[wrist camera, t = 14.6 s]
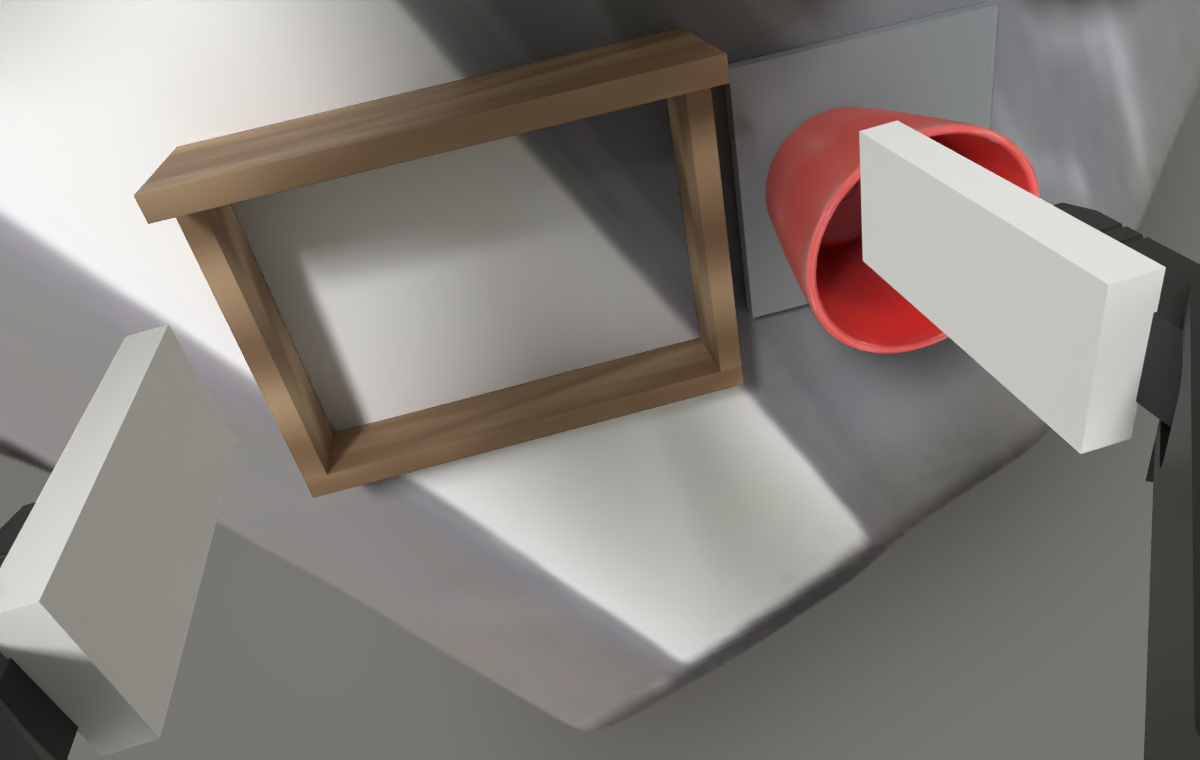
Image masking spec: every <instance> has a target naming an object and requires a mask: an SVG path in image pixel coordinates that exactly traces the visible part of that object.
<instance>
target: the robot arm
mask: <svg viewBox="0 0 1200 760" xmlns="http://www.w3.org/2000/svg"><path fill="white" fill-rule="evenodd" d="M859 142H860V179H861V215H862V252H863V261H864V262H865V263H866V264H867V265H868V266H869V267H870V268H872V269H873V270H874V271H875V272H876V273H877V274H878V275H879V276H881V277H882V278H883V279H884V280H885V281H886V282H887V283H888V284H890V285H891V286H892V287H893V288H894V289H895V290H896V291H897V292H899V293H900V294H901V295H902V296H903V297H904V298H905V299H906V300H908V301H909V302H910V303H911V304H912V305H913V306H914V307H916V308H917V309H918V310H919V311H920V312H921V313H922V314H923V315H925V316H926V317H927V318H928V319H929V320H930V321H931V322H932V323H934V324H935V325H936V326H937V327H938V328H939V329H940V330H941V331H943V332H944V333H945V334H946V335H947V336H948V337H949V338H951V339H952V340H953V341H954V342H955V343H956V344H957V345H958V346H960V347H961V348H962V349H963V350H964V351H965V352H966V353H967V354H969V355H970V356H971V357H972V358H973V359H974V360H975V361H976V362H978V363H979V364H980V365H981V366H982V367H983V368H984V369H985V370H987V371H988V372H989V373H990V374H991V375H992V376H993V377H995V378H996V379H997V380H998V381H999V382H1000V383H1001V384H1002V385H1004V386H1005V387H1006V388H1007V389H1008V390H1009V391H1010V392H1011V393H1013V394H1014V395H1015V396H1016V397H1017V398H1018V399H1019V400H1020V401H1022V402H1023V403H1024V404H1025V405H1026V406H1027V407H1028V408H1030V409H1031V410H1032V411H1033V412H1034V413H1035V414H1036V415H1037V416H1039V417H1040V418H1041V419H1042V420H1043V421H1044V422H1045V423H1046V424H1048V425H1049V426H1050V427H1051V428H1052V429H1053V430H1054V431H1055V432H1057V433H1058V434H1059V435H1060V436H1061V437H1062V438H1064V440H1066V441H1067V442H1068V443H1069V444H1070V445H1071V446H1073V447H1074V448H1075V449H1076V450H1077V451H1078V452H1079V453H1080V454H1082V453H1086V452H1089V451H1092V450H1095V449H1099V448H1102V447H1105V446H1108V445H1112V444H1114V443H1118V442H1121V441H1125V440H1128V439H1131V436H1132V431H1133V426H1134V421H1135V416H1136V411H1137V406H1138V403H1139V404H1140V405H1141V406H1143V407H1144V408H1145V409H1147V410H1148V411H1149V412H1151V413H1152V414H1154V415H1155V416H1156V417H1157V418H1159V419H1160V420H1159V424H1158V429H1157V433H1156V438H1155V443H1154V447H1153V451H1152V456H1151V460H1150V464H1149V469H1148V473H1147V478H1146V481H1149V482H1153V483H1154V484H1153V511H1152V540H1151V570H1150V597H1149V599H1150V600H1149V627H1148V657H1147V684H1146V713H1145V714H1146V715H1145V741H1144V742H1145V743H1144V760H1200V264H1198V263H1196V262H1194V261H1192V260H1190V259H1188V258H1186V257H1184V256H1183V255H1181V254H1179V253H1177V252H1175V251H1173V250H1171V249H1169V248H1167V247H1165V246H1163V245H1161V244H1159V243H1158V242H1156V241H1154V240H1152V239H1150V238H1148V237H1147V238H1143V236H1142V234H1140V233H1138V232H1136V231H1135V230H1133V229H1131V228H1129V227H1122V224H1121V223H1119V222H1117V221H1115V220H1113V219H1111V218H1110V217H1108V216H1106V215H1104V214H1102V213H1100V212H1098V211H1096V210H1091V209H1087V208H1083V207H1079V206H1075V205H1070V204H1066V203H1059V204H1056V205H1051V204H1049V203H1047V202H1046V201H1044V200H1042V199H1040V198H1038V197H1036V196H1035V195H1033V194H1031V193H1029V192H1027V191H1025V190H1024V189H1022V188H1020V187H1018V186H1016V185H1014V184H1013V183H1011V182H1009V181H1007V180H1005V179H1004V178H1002V177H1000V176H998V175H996V174H994V173H993V172H991V171H989V170H987V169H985V168H983V167H982V166H980V165H978V164H976V163H974V162H972V161H971V160H969V159H967V158H965V157H963V156H961V155H960V154H958V153H956V152H954V151H952V150H951V149H949V148H947V147H945V146H943V145H941V144H940V143H938V142H936V141H934V140H932V139H930V138H929V137H927V136H925V135H923V134H921V133H919V132H918V131H916V130H914V129H912V128H910V127H909V126H907V125H905V124H903V123H901V122H899V121H898V120H897V121H894V122H890V123H887V124H883V125H879V126H876V127H872V128H869V129H865V130H862V131H859ZM236 444H237V441H236V439H235V438H234V436H233V434H232V433H231V431H230V429H229V428H228V426H227V424H226V422H225V421H224V419H223V417H222V416H221V414H220V412H219V410H218V409H217V407H216V405H215V404H214V402H213V400H212V398H211V397H210V395H209V393H208V392H207V390H206V388H205V386H204V385H203V383H202V381H201V380H200V378H199V376H198V374H197V373H196V371H195V369H194V368H193V366H192V364H191V363H190V361H189V359H188V357H187V356H186V354H185V352H184V351H183V349H182V347H181V345H180V344H179V342H178V340H177V339H176V337H175V335H174V333H173V332H172V330H171V328H170V327H169V325H165V326H161V327H158V328H154V329H151V330H147V331H143V332H140V333H136V334H133V335H129V336H126V337H125V339H124V341H123V343H122V344H121V346H120V348H119V350H118V352H117V354H116V355H115V357H114V359H113V361H112V363H111V365H110V367H109V368H108V370H107V372H106V374H105V376H104V378H103V379H102V381H101V383H100V385H99V387H98V389H97V390H96V392H95V394H94V396H93V398H92V400H91V402H90V403H89V405H88V407H87V409H86V411H85V413H84V414H83V416H82V418H81V420H80V422H79V424H78V426H77V427H76V429H75V431H74V433H73V435H72V437H71V438H70V440H69V442H68V444H67V446H66V448H65V449H64V451H63V453H62V455H61V457H60V459H59V461H58V462H57V464H56V466H55V468H54V470H53V472H52V473H51V475H50V477H49V479H48V481H47V483H46V485H45V486H44V488H43V490H42V492H41V494H40V496H39V498H38V499H37V501H36V502H35V503H31V504H28V505H25V506H23V507H22V508H21V509H20V510H19V511H18V512H17V513H16V514H15V515H14V516H13V517H12V518H11V519H10V520H9V521H8V522H7V523H6V524H5V525H4V526H3V527H2V528H1V529H0V760H68V759H67V758H68V755H69V752H70V749H71V746H72V743H73V740H74V738H75V735H76V732H77V731H78V732H79V733H80V734H81V735H82V736H83V737H84V738H85V739H86V740H87V741H88V742H89V743H90V744H91V745H92V746H93V747H94V748H95V749H96V750H97V751H98V752H99V753H100V754H101V756H103V755H107V754H110V753H113V752H117V751H120V750H123V749H126V748H129V747H133V746H136V745H139V744H143V743H146V742H149V741H152V740H155V739H159V738H160V735H161V731H162V727H163V723H164V719H165V715H166V712H167V708H168V704H169V700H170V697H171V693H172V689H173V685H174V681H175V677H176V674H177V670H178V666H179V662H180V658H181V654H182V651H183V646H184V643H185V639H186V635H187V631H188V627H189V624H190V620H191V616H192V612H193V608H194V605H195V601H196V597H197V593H198V589H199V585H200V582H201V578H202V574H203V570H204V566H205V562H206V558H207V555H208V551H209V547H210V543H211V539H212V536H213V532H214V528H215V524H216V520H217V516H218V513H219V509H220V505H221V501H222V497H223V493H224V490H225V486H226V482H227V478H228V474H229V470H230V467H231V463H232V459H233V455H234V451H235V447H236Z"/></svg>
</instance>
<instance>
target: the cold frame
mask: <svg viewBox="0 0 1200 760" xmlns="http://www.w3.org/2000/svg"><path fill="white" fill-rule="evenodd" d="M728 83H730V79H729V69H728V59H727V53H725V52H724V51H722V50H720V49H718V48H717V47H715V46H713V45H711V44H710V43H708V42H706V41H704V40H703V39H701V38H699V37H698V36H696V35H694V34H692V33H691V32H689V31H687V30H685V29H684V28H682V27H681V28H677V29H673V30H668V31H664V32H660V33H656V34H652V35H647V36H643V37H639V38H635V39H631V40H626V41H622V42H618V43H614V44H609V45H605V46H601V47H597V48H593V49H588V50H584V51H580V52H576V53H572V54H567V55H563V56H559V57H555V58H550V59H546V60H542V61H538V62H534V63H529V64H525V65H521V66H517V67H512V68H508V69H504V70H500V71H496V72H491V73H487V74H483V75H479V76H475V77H470V78H466V79H462V80H458V81H453V82H449V83H445V84H441V85H437V86H432V87H428V88H424V89H420V90H416V91H411V92H407V93H403V94H399V95H394V96H390V97H386V98H382V99H378V100H373V101H369V102H365V103H361V104H357V105H352V106H348V107H344V108H340V109H335V110H331V111H327V112H323V113H319V114H314V115H310V116H306V117H302V118H298V119H293V120H289V121H285V122H281V123H276V124H272V125H268V126H264V127H260V128H255V129H251V130H247V131H243V132H239V133H234V134H230V135H226V136H222V137H217V138H213V139H209V140H205V141H201V142H196V143H192V144H188V145H184V146H179V147H177V148H176V149H175V150H174V151H173V152H172V153H171V154H170V155H169V157H168V158H167V159H166V160H165V161H164V162H163V163H162V164H161V166H160V167H159V168H158V169H157V170H156V171H155V172H154V174H153V175H152V176H151V177H150V178H149V179H148V180H147V181H146V183H145V184H144V185H143V186H142V187H141V188H140V189H139V190H138V192H137V193H136V194H135V195H134V197H135V199H136V201H137V203H138V205H139V207H140V209H141V211H142V213H143V214H144V216H145V218H146V220H147V222H148V224H150V223H154V222H158V221H162V220H166V219H170V218H175V217H176V219H177V221H178V223H179V225H180V227H181V229H182V231H183V233H184V235H185V237H186V239H187V241H188V243H189V245H190V247H191V249H192V251H193V253H194V255H195V258H196V260H197V262H198V264H199V266H200V268H201V270H202V272H203V274H204V276H205V278H206V280H207V282H208V284H209V286H210V288H211V290H212V292H213V294H214V296H215V298H216V300H217V302H218V305H219V307H220V309H221V311H222V313H223V315H224V317H225V319H226V321H227V323H228V325H229V327H230V329H231V331H232V333H233V335H234V337H235V339H236V341H237V343H238V345H239V347H240V349H241V351H242V354H243V356H244V358H245V360H246V362H247V364H248V366H249V368H250V370H251V372H252V374H253V376H254V378H255V380H256V382H257V384H258V386H259V388H260V390H261V392H262V394H263V396H264V398H265V401H266V403H267V405H268V407H269V409H270V411H271V413H272V415H273V417H274V419H275V421H276V423H277V425H278V427H279V429H280V431H281V433H282V435H283V437H284V439H285V441H286V443H287V445H288V447H289V450H290V452H291V454H292V456H293V458H294V460H295V462H296V464H297V466H298V468H299V470H300V472H301V474H302V476H303V478H304V480H305V482H306V484H307V486H308V488H309V490H310V492H311V494H312V496H313V498H314V497H318V496H322V495H326V494H329V493H333V492H337V491H341V490H345V489H348V488H352V487H356V486H360V485H364V484H367V483H371V482H375V481H379V480H382V479H386V478H390V477H394V476H398V475H401V474H405V473H409V472H413V471H416V470H420V469H424V468H428V467H432V466H435V465H439V464H443V463H447V462H451V461H454V460H458V459H462V458H466V457H469V456H473V455H477V454H481V453H485V452H488V451H492V450H496V449H500V448H503V447H507V446H511V445H515V444H519V443H522V442H526V441H530V440H534V439H538V438H541V437H545V436H549V435H553V434H556V433H560V432H564V431H568V430H572V429H575V428H579V427H583V426H587V425H590V424H594V423H598V422H602V421H606V420H609V419H613V418H617V417H621V416H624V415H628V414H632V413H636V412H640V411H643V410H647V409H651V408H655V407H659V406H662V405H666V404H670V403H674V402H677V401H681V400H685V399H689V398H693V397H696V396H700V395H704V394H708V393H711V392H715V391H719V390H723V389H727V388H730V387H734V386H738V385H742V384H744V382H743V373H742V364H741V355H740V346H739V337H738V328H737V319H736V310H735V301H734V292H733V283H732V274H731V265H730V256H729V247H728V238H727V229H726V220H725V211H724V202H723V193H722V184H721V175H720V165H719V156H718V147H717V138H716V129H715V120H714V111H713V102H712V93H711V87H716V86H720V85H724V84H728ZM666 98H667V104H668V111H669V118H670V125H671V132H672V139H673V147H674V154H675V161H676V168H677V175H678V182H679V190H680V197H681V204H682V211H683V218H684V225H685V233H686V240H687V247H688V254H689V261H690V268H691V276H692V283H693V290H694V297H695V304H696V311H697V319H698V326H699V333H700V338H697V339H694V340H690V341H686V342H682V343H678V344H674V345H671V346H667V347H663V348H659V349H655V350H651V351H647V352H644V353H640V354H636V355H632V356H628V357H624V358H621V359H617V360H613V361H609V362H605V363H601V364H598V365H594V366H590V367H586V368H582V369H578V370H574V371H571V372H567V373H563V374H559V375H555V376H551V377H548V378H544V379H540V380H536V381H532V382H528V383H525V384H521V385H517V386H513V387H509V388H505V389H501V390H498V391H494V392H490V393H486V394H482V395H478V396H475V397H471V398H467V399H463V400H459V401H455V402H451V403H448V404H444V405H440V406H436V407H432V408H428V409H425V410H421V411H417V412H413V413H409V414H405V415H402V416H398V417H394V418H390V419H386V420H382V421H378V422H375V423H371V424H367V425H363V426H359V427H355V428H352V429H348V430H344V431H340V432H336V433H333V431H332V429H331V427H330V425H329V422H328V420H327V418H326V416H325V413H324V411H323V409H322V407H321V405H320V402H319V400H318V398H317V396H316V393H315V391H314V389H313V387H312V384H311V382H310V380H309V378H308V375H307V373H306V371H305V369H304V367H303V364H302V362H301V360H300V358H299V355H298V353H297V351H296V349H295V346H294V344H293V342H292V340H291V337H290V335H289V333H288V331H287V329H286V326H285V324H284V322H283V320H282V317H281V315H280V313H279V311H278V308H277V306H276V304H275V302H274V300H273V297H272V295H271V293H270V291H269V288H268V286H267V284H266V282H265V279H264V277H263V275H262V273H261V270H260V268H259V266H258V264H257V262H256V259H255V257H254V255H253V253H252V250H251V248H250V246H249V244H248V241H247V239H246V237H245V235H244V232H243V230H242V228H241V226H240V224H239V221H238V219H237V217H236V215H235V212H234V210H233V208H232V206H231V204H232V203H236V202H241V201H245V200H249V199H253V198H257V197H261V196H265V195H270V194H274V193H278V192H282V191H286V190H290V189H294V188H298V187H303V186H307V185H311V184H315V183H319V182H323V181H327V180H331V179H336V178H340V177H344V176H348V175H352V174H356V173H360V172H364V171H369V170H373V169H377V168H381V167H385V166H389V165H393V164H398V163H402V162H406V161H410V160H414V159H418V158H422V157H426V156H431V155H435V154H439V153H443V152H447V151H451V150H455V149H459V148H464V147H468V146H472V145H476V144H480V143H484V142H488V141H493V140H497V139H501V138H505V137H509V136H513V135H517V134H521V133H526V132H530V131H534V130H538V129H542V128H546V127H550V126H554V125H559V124H563V123H567V122H571V121H575V120H579V119H583V118H587V117H592V116H596V115H600V114H604V113H608V112H612V111H616V110H621V109H625V108H629V107H633V106H637V105H641V104H645V103H649V102H654V101H658V100H662V99H666Z"/></svg>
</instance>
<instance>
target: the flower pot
mask: <svg viewBox="0 0 1200 760" xmlns="http://www.w3.org/2000/svg"><path fill="white" fill-rule="evenodd" d="M897 120H898V121H899V122H901V123H903V124H905V125H907V126H909V127H910V128H912V129H914V130H916V131H918V132H919V133H921V134H923V135H925V136H927V137H929V138H930V139H932V140H934V141H936V142H938V143H940V144H941V145H943V146H945V147H947V148H949V149H951V150H952V151H954V152H956V153H958V154H960V155H961V156H963V157H965V158H967V159H969V160H971V161H972V162H974V163H976V164H978V165H980V166H982V167H983V168H985V169H987V170H989V171H991V172H993V173H994V174H996V175H998V176H1000V177H1002V178H1004V179H1005V180H1007V181H1009V182H1011V183H1013V184H1014V185H1016V186H1018V187H1020V188H1022V189H1024V190H1025V191H1027V192H1029V193H1031V194H1033V195H1035V196H1036V197H1038V198H1040V193H1039V186H1038V182H1037V178H1036V174H1035V172H1034V170H1033V167H1032V165H1031V164H1030V162H1029V160H1028V159H1027V157H1026V156H1025V154H1024V153H1023V152H1022V150H1021V149H1020V148H1019V147H1018V146H1017V145H1016V144H1014V143H1013V142H1012V141H1011V140H1009V139H1008V138H1006V137H1005V136H1003V135H1002V134H1000V133H998V132H996V131H994V130H991V129H988V128H985V127H982V126H978V125H974V124H969V123H964V122H958V121H952V120H947V119H941V118H935V117H928V116H922V115H916V114H910V113H904V112H898V111H891V110H884V109H874V108H861V107H839V108H834V109H830V110H827V111H825V112H822V113H820V114H817V115H815V116H813V117H812V118H810V119H808V120H807V121H805V122H804V123H803V124H801V125H800V126H799V127H797V128H796V129H795V130H794V131H793V132H792V133H791V134H790V135H789V136H788V137H787V138H786V140H785V141H784V142H783V143H782V145H781V146H780V148H779V149H778V151H777V153H776V155H775V156H774V158H773V161H772V163H771V165H770V169H769V172H768V176H767V181H766V190H765V195H766V204H767V209H768V213H769V216H770V218H771V221H772V223H773V226H774V229H775V231H776V234H777V237H778V239H779V242H780V244H781V247H782V249H783V251H784V254H785V256H786V258H787V260H788V262H789V265H790V267H791V269H792V271H793V273H794V275H795V278H796V280H797V282H798V284H799V286H800V288H801V290H802V292H803V294H804V296H805V298H806V300H807V302H808V304H809V306H810V308H811V310H812V311H813V313H814V315H815V316H816V318H817V319H818V321H819V322H820V324H821V325H822V326H823V327H824V329H825V330H826V331H827V332H829V333H830V334H831V335H832V336H833V337H834V338H836V339H837V340H839V341H840V342H842V343H844V344H846V345H848V346H850V347H853V348H855V349H858V350H862V351H866V352H871V353H884V354H885V353H900V352H907V351H912V350H916V349H921V348H923V347H927V346H930V345H932V344H935V343H937V342H940V341H942V340H944V339H946V338H948V336H947V335H946V334H945V333H944V332H943V331H941V330H940V329H939V328H938V327H937V326H936V325H935V324H934V323H932V322H931V321H930V320H929V319H928V318H927V317H926V316H925V315H923V314H922V313H921V312H920V311H919V310H918V309H917V308H916V307H914V306H913V305H912V304H911V303H910V302H909V301H908V300H906V299H905V298H904V297H903V296H902V295H901V294H900V293H899V292H897V291H896V290H895V289H894V288H893V287H892V286H891V285H890V284H888V283H887V282H886V281H885V280H884V279H883V278H882V277H881V276H879V275H878V274H877V273H876V272H875V271H874V270H873V269H872V268H870V267H869V266H868V265H867V264H866V263H865V262H864V261H863V252H862V215H861V179H860V142H859V131H862V130H865V129H869V128H872V127H876V126H879V125H883V124H887V123H890V122H894V121H897Z"/></svg>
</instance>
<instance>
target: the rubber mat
mask: <svg viewBox="0 0 1200 760" xmlns="http://www.w3.org/2000/svg"><path fill="white" fill-rule="evenodd" d="M997 19H998V4H994V3H990V2H984V3H980V4H976V5H972V6H968V7H964V8H960V9H955V10H951V11H947V12H943V13H939V14H935V15H930V16H926V17H922V18H918V19H914V20H910V21H906V22H901V23H897V24H893V25H889V26H885V27H881V28H876V29H872V30H868V31H864V32H860V33H856V34H852V35H847V36H843V37H839V38H835V39H831V40H827V41H822V42H818V43H814V44H810V45H806V46H802V47H798V48H793V49H789V50H785V51H781V52H777V53H773V54H768V55H764V56H760V57H756V58H752V59H748V60H744V61H739V62H735V63H731V64H728V69H729V79H730V83H728V84H724V88H725V98H726V107H727V117H728V127H729V137H730V147H731V156H732V166H733V176H734V186H735V196H736V205H737V215H738V225H739V235H740V245H741V254H742V264H743V274H744V284H745V294H746V303H747V311H748V312H749V314H750V315H751V316H752V317H753V318H755V317H759V316H763V315H767V314H771V313H775V312H778V311H782V310H786V309H790V308H794V307H798V306H801V305H805V304H808V302H807V300H806V298H805V296H804V294H803V292H802V290H801V288H800V286H799V284H798V282H797V280H796V278H795V275H794V273H793V271H792V269H791V267H790V265H789V262H788V260H787V258H786V256H785V254H784V251H783V249H782V247H781V244H780V242H779V239H778V237H777V234H776V231H775V229H774V226H773V223H772V221H771V218H770V216H769V213H768V209H767V204H766V195H765V190H766V181H767V176H768V172H769V169H770V165H771V163H772V161H773V158H774V156H775V155H776V153H777V151H778V149H779V148H780V146H781V145H782V143H783V142H784V141H785V140H786V138H787V137H788V136H789V135H790V134H791V133H792V132H793V131H794V130H795V129H796V128H797V127H799V126H800V125H801V124H803V123H804V122H805V121H807V120H808V119H810V118H812V117H813V116H815V115H817V114H820V113H822V112H825V111H827V110H830V109H834V108H839V107H861V108H874V109H884V110H891V111H898V112H904V113H910V114H916V115H922V116H928V117H935V118H941V119H947V120H952V121H958V122H964V123H969V124H974V125H978V126H982V127H985V128H988V129H990V122H991V107H992V93H993V78H994V63H995V49H996V34H997Z"/></svg>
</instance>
